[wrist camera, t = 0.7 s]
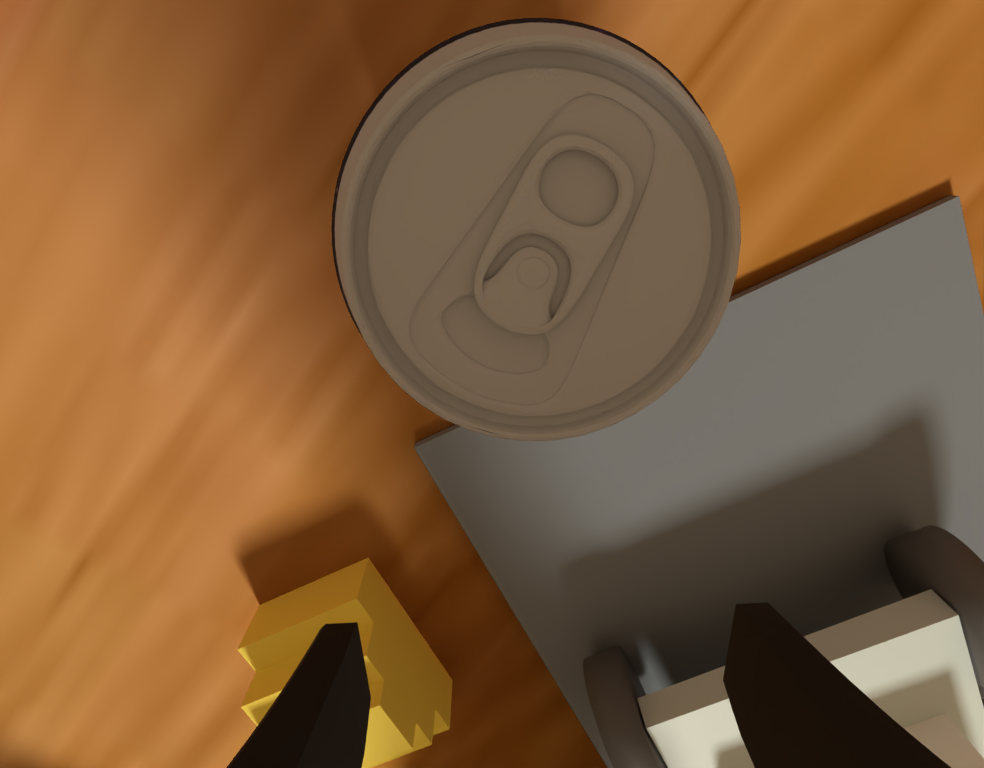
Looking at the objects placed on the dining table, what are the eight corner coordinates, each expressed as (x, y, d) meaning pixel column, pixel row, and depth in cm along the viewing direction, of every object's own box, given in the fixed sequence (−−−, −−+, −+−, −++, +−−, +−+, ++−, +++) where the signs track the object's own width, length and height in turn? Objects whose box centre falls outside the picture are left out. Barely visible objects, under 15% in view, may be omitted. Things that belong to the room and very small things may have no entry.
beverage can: (383, 240, 19) (237, 355, 8) (465, 62, 17) (434, -130, 6) (539, 321, 20) (614, 530, 9) (631, 160, 18) (875, 159, 7)
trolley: (692, 839, 28) (747, 1014, 22) (574, 631, 24) (605, 782, 18) (978, 744, 26) (1119, 909, 21) (908, 499, 22) (1062, 620, 16)
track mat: (662, 853, 29) (664, 862, 29) (415, 443, 21) (413, 447, 21) (1061, 721, 27) (1069, 729, 26) (949, 195, 19) (959, 196, 18)
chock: (351, 716, 26) (323, 837, 21) (261, 601, 24) (207, 709, 19) (452, 676, 25) (446, 793, 21) (369, 554, 23) (340, 654, 19)
